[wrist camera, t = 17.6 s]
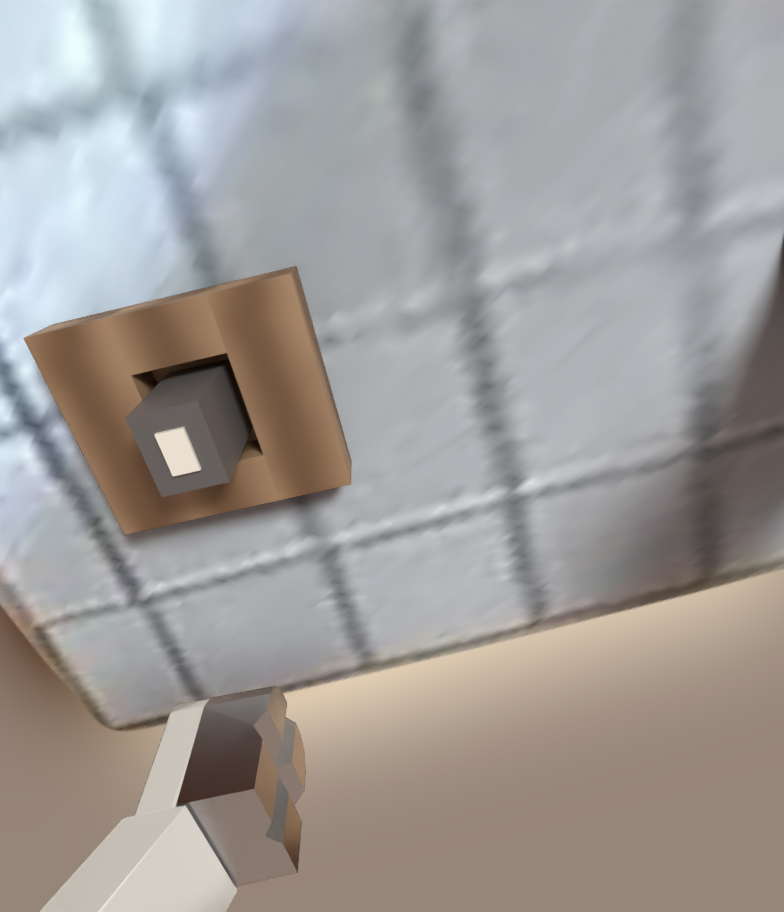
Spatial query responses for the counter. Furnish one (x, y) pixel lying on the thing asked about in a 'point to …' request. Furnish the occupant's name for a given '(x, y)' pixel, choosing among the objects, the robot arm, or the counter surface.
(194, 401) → the block
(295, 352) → the dock
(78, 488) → the counter surface
